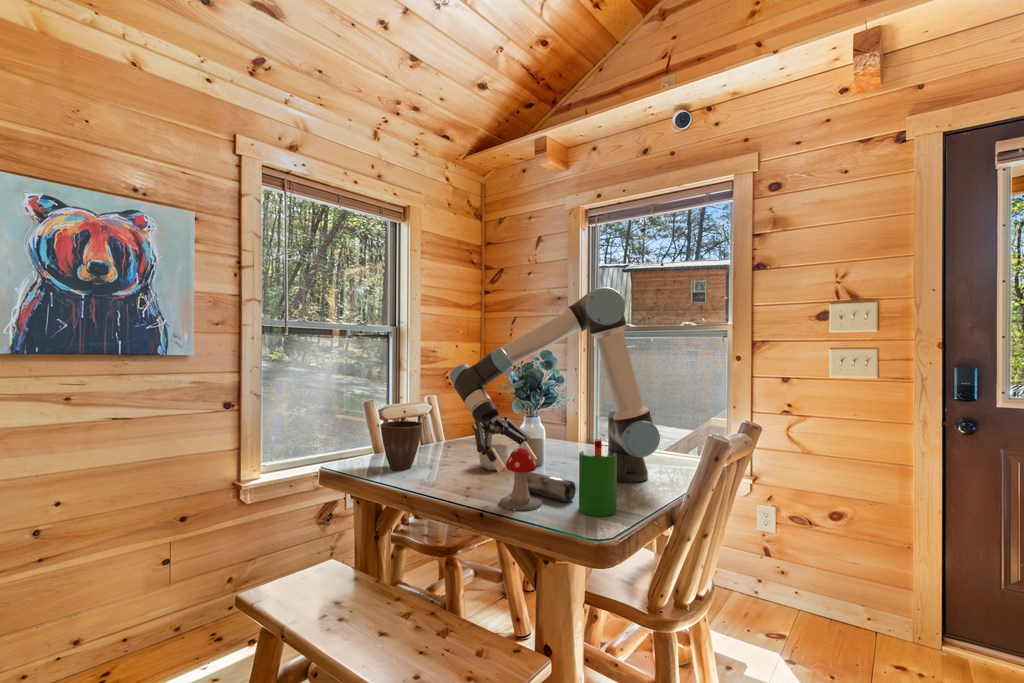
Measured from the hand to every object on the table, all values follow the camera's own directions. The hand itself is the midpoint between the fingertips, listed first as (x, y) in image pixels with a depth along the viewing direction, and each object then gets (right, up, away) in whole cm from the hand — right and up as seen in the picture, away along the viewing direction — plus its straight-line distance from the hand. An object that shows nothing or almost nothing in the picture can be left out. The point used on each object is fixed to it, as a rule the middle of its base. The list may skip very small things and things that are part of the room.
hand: (518, 465), depth 148 cm
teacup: (-9, -11, +43) cm, 45 cm away
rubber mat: (+1, -11, 0) cm, 11 cm away
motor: (+22, -11, -6) cm, 25 cm away
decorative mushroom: (0, -10, 0) cm, 10 cm away
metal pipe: (+8, -11, +8) cm, 16 cm away
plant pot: (-42, -11, +41) cm, 59 cm away
